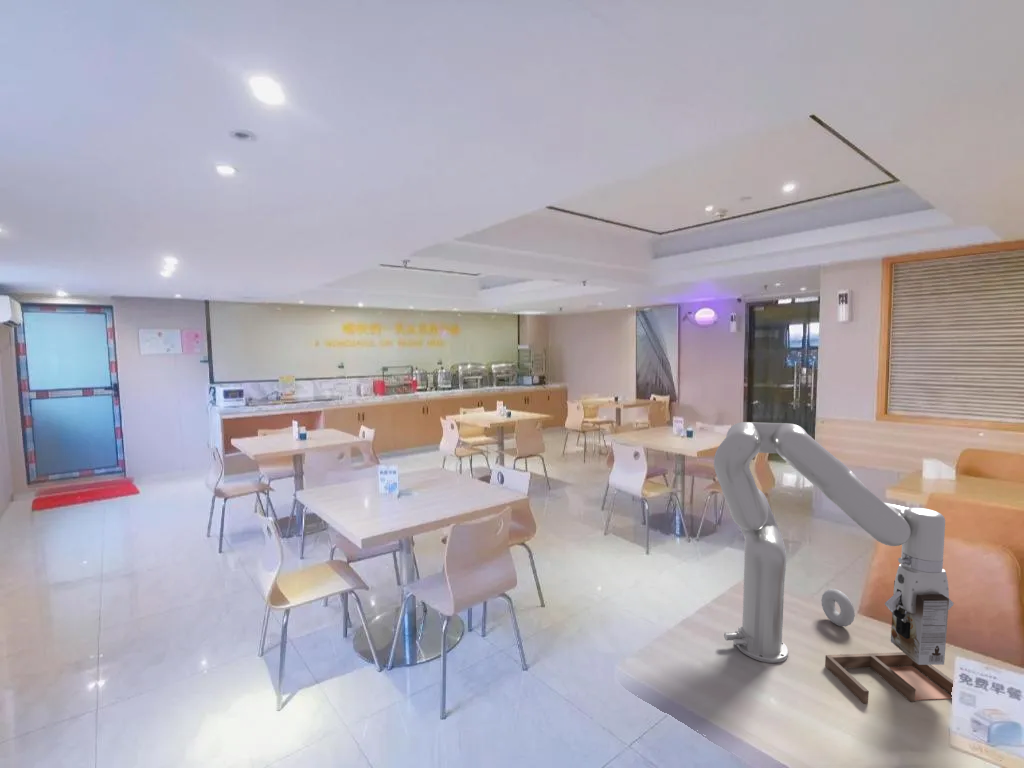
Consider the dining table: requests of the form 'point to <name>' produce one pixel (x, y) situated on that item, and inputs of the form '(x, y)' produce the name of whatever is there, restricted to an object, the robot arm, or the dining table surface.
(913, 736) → the dining table surface
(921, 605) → the coffee box
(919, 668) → the rack
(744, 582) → the robot arm
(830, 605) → the donut
